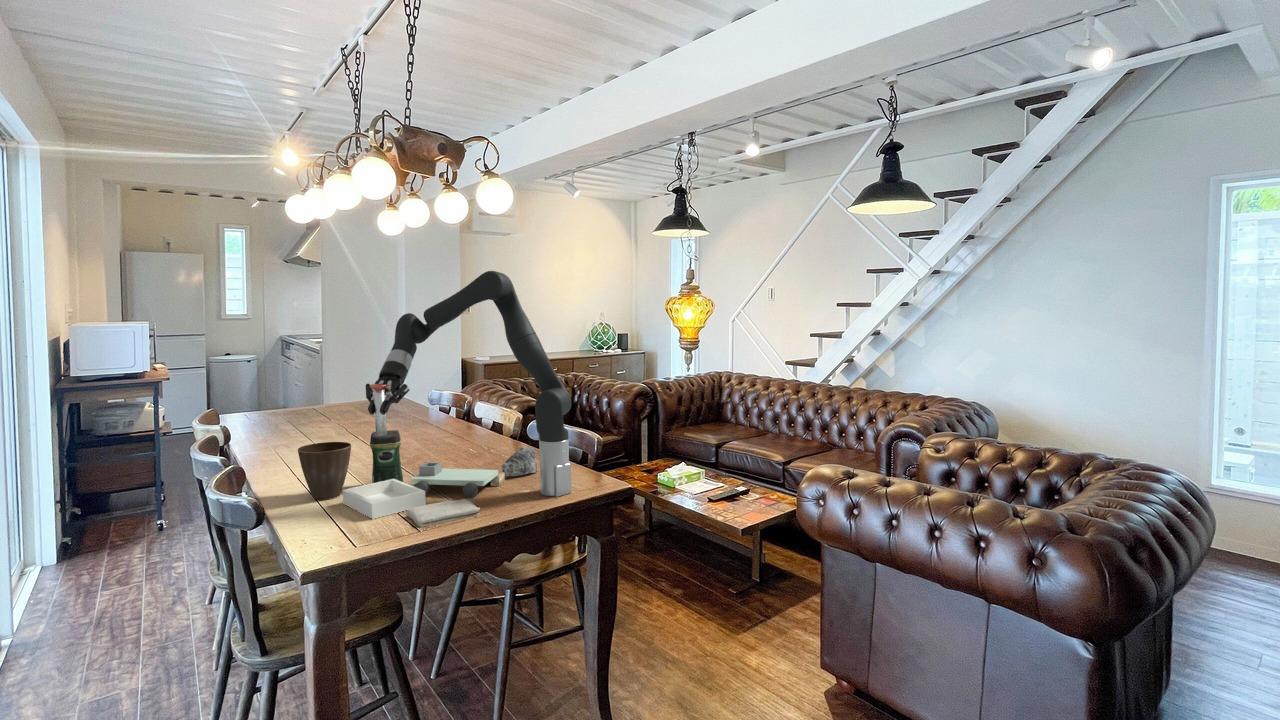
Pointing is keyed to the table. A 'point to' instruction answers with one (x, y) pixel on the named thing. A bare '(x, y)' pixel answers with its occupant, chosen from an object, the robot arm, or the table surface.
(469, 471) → the trolley
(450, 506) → the washcloth
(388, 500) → the tray
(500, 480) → the block
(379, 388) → the pin
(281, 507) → the table surface
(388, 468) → the coffee jar
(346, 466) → the plant pot
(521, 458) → the mineral rock
